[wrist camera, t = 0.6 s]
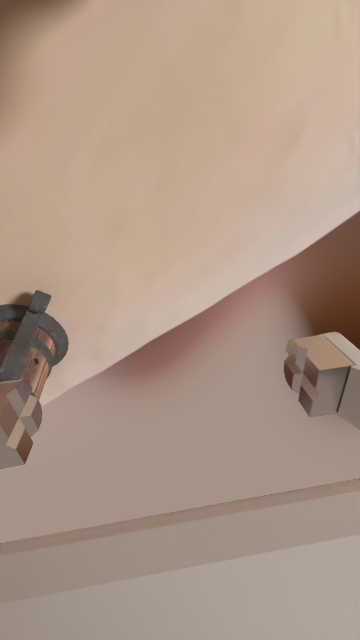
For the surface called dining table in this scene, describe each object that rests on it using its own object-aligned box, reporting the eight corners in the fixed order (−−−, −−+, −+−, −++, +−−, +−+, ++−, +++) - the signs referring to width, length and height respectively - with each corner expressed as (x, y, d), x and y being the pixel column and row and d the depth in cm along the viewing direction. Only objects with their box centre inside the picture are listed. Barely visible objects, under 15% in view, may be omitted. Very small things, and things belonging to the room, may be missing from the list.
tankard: (50, 380, 60) (26, 475, 44) (-40, 357, 52) (-109, 461, 37) (96, 300, 50) (86, 383, 34) (-7, 256, 43) (-81, 338, 27)
